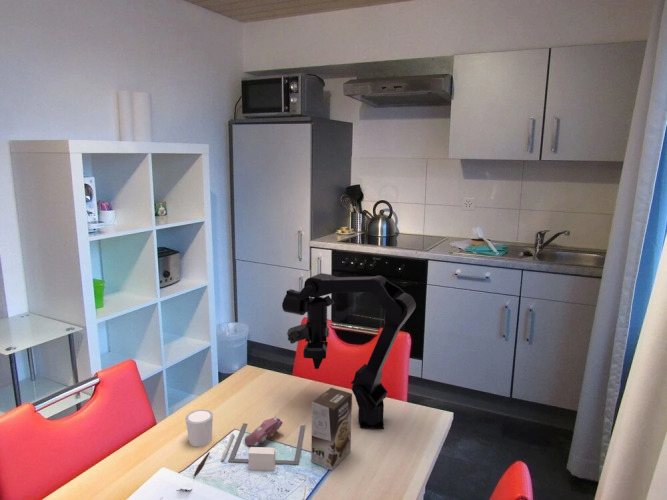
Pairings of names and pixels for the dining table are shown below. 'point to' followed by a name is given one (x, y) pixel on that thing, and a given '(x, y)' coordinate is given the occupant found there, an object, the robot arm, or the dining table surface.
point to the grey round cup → (199, 427)
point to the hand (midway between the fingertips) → (316, 368)
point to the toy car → (263, 431)
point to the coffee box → (331, 428)
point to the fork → (199, 468)
